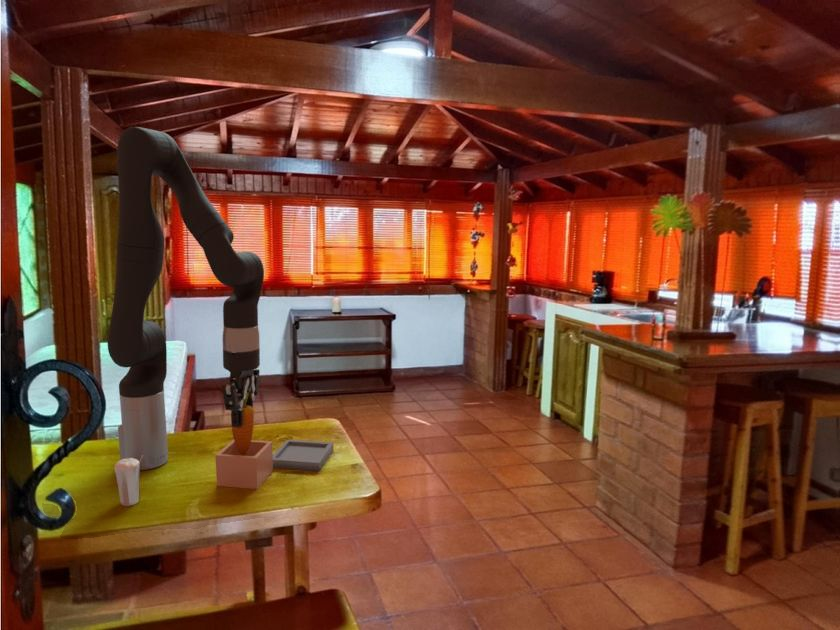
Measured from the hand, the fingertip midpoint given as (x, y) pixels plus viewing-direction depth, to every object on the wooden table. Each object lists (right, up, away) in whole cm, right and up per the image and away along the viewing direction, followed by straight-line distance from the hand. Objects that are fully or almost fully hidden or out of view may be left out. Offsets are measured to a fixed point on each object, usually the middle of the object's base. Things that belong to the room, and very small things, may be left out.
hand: (242, 421), depth 128 cm
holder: (0, -13, +2) cm, 13 cm away
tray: (+10, -11, +13) cm, 20 cm away
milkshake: (-20, -15, -9) cm, 26 cm away
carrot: (0, -8, +2) cm, 8 cm away
